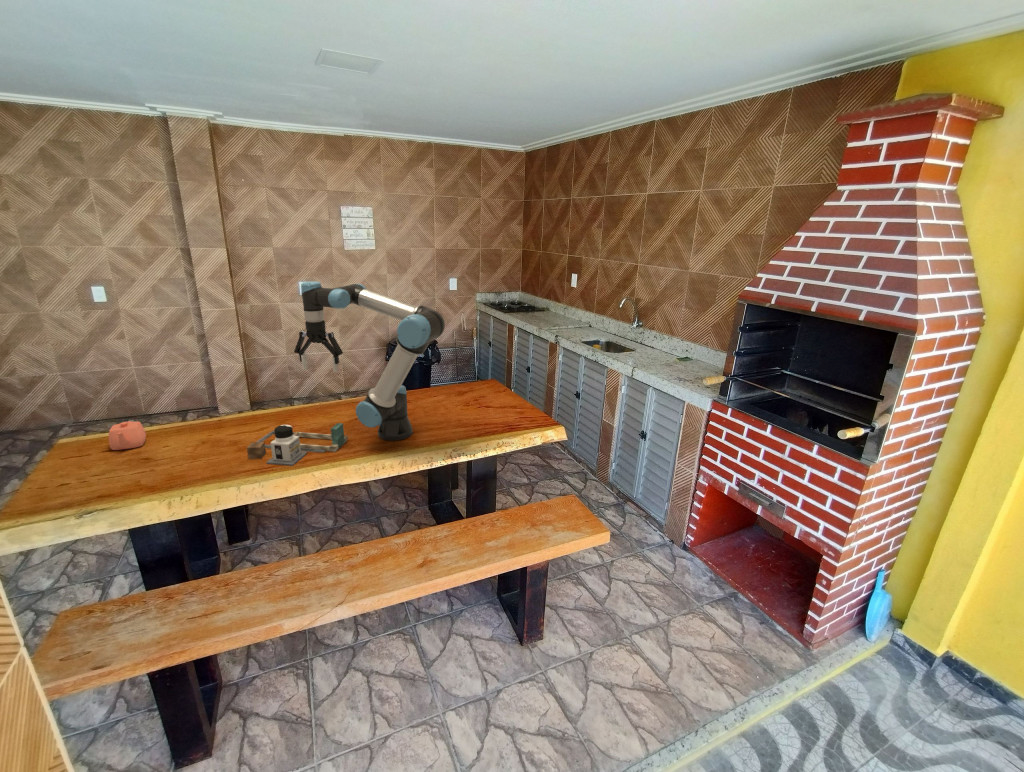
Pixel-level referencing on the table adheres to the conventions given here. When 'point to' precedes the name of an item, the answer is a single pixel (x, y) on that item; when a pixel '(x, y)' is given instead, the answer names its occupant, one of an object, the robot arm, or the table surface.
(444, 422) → the table surface
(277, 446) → the container
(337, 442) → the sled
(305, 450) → the lanes
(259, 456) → the walnut cube
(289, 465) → the coaster
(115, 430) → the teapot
